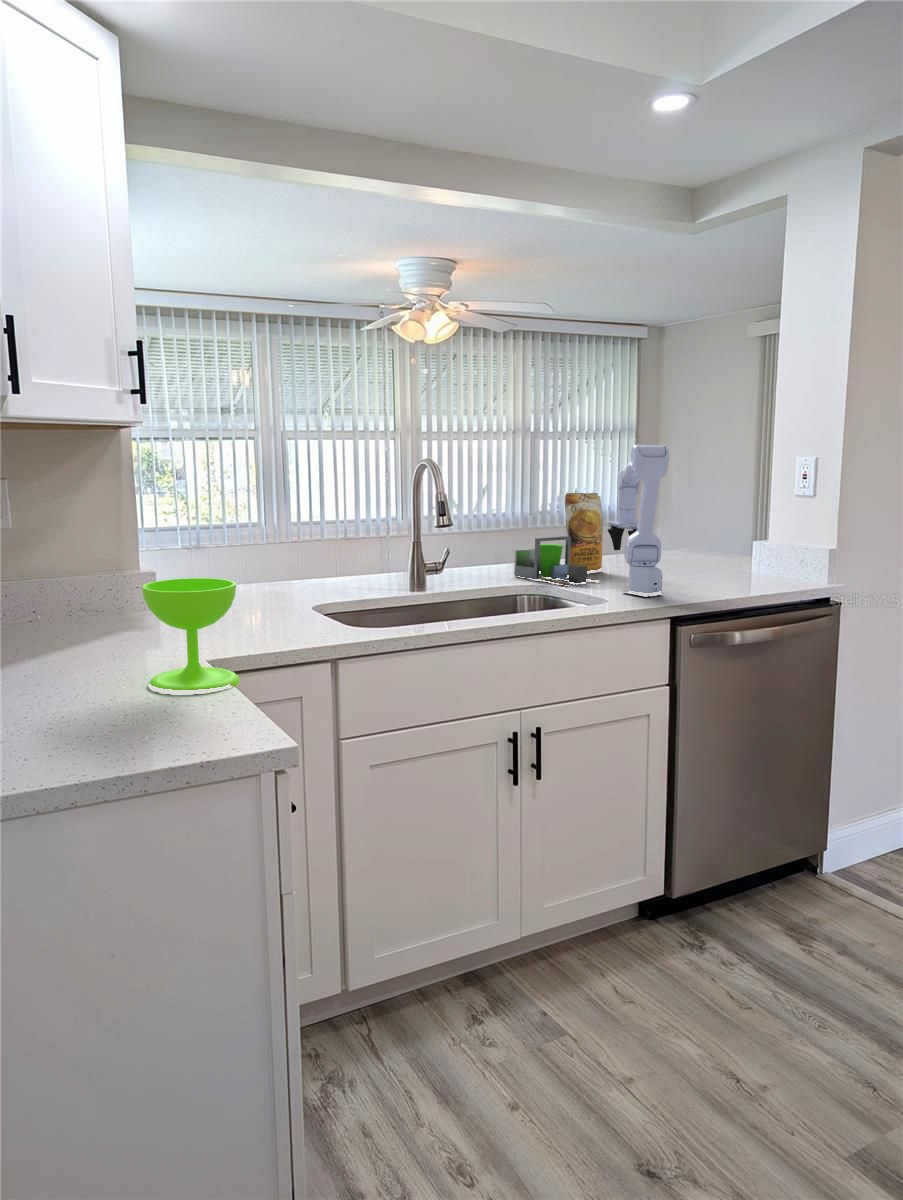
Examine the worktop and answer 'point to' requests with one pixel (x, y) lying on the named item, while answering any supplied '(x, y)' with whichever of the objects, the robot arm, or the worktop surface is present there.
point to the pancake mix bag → (584, 529)
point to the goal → (536, 558)
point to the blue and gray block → (575, 572)
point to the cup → (549, 558)
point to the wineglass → (191, 625)
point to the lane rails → (560, 581)
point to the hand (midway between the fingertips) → (625, 551)
